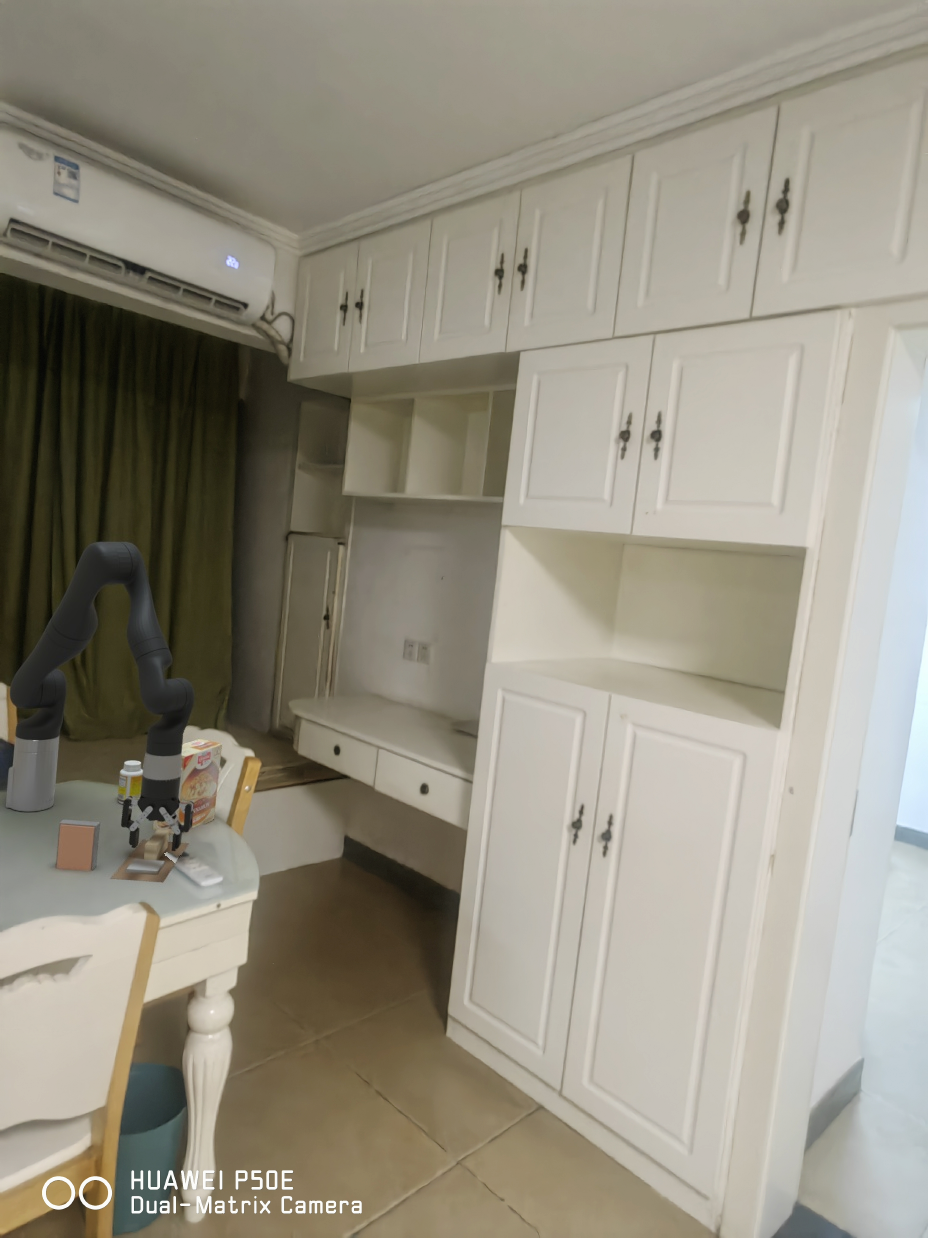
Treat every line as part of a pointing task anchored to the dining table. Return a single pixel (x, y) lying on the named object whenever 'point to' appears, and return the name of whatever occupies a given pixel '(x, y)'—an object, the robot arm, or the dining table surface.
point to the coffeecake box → (198, 781)
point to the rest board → (139, 854)
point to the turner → (151, 854)
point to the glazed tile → (77, 845)
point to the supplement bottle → (130, 781)
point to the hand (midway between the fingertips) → (154, 848)
